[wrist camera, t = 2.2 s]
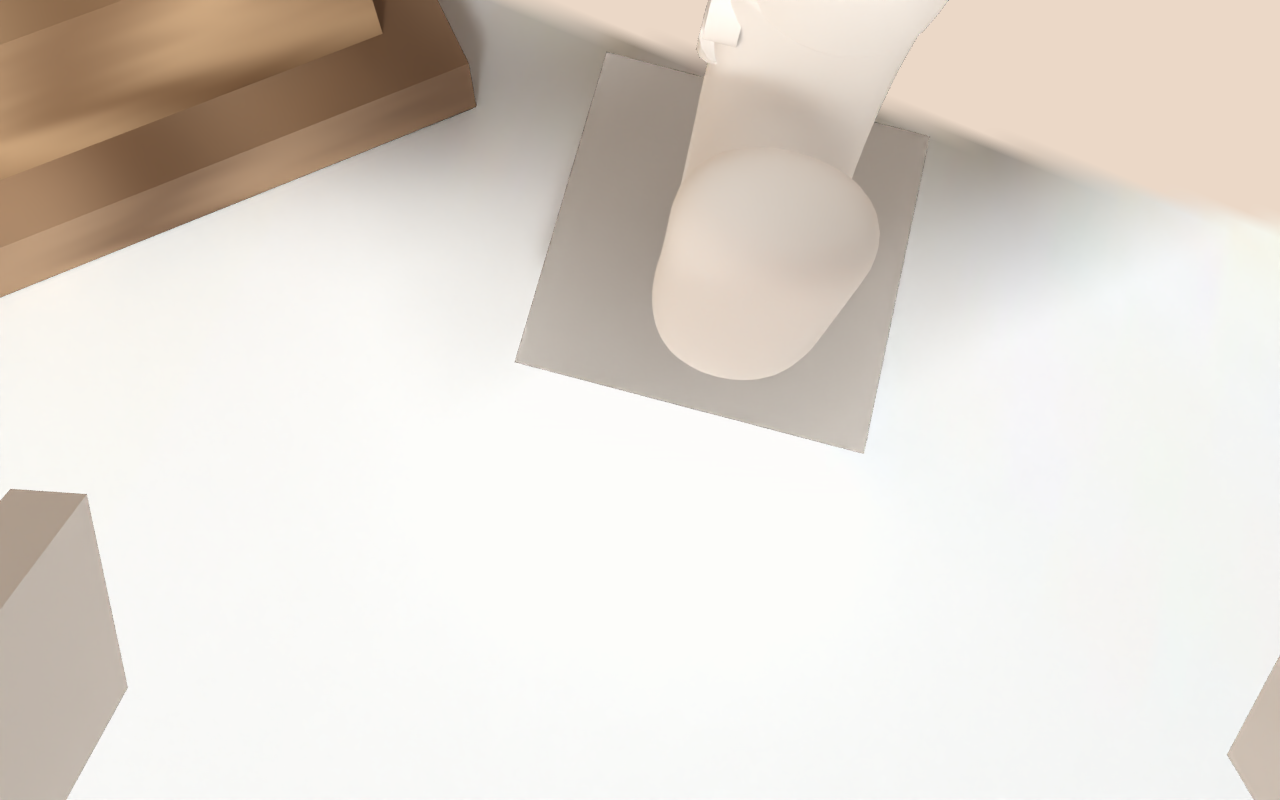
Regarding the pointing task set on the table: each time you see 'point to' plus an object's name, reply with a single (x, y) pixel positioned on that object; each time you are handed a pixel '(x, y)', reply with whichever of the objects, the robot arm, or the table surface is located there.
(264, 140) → the walnut plinth
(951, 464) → the table surface
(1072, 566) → the table surface
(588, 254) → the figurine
